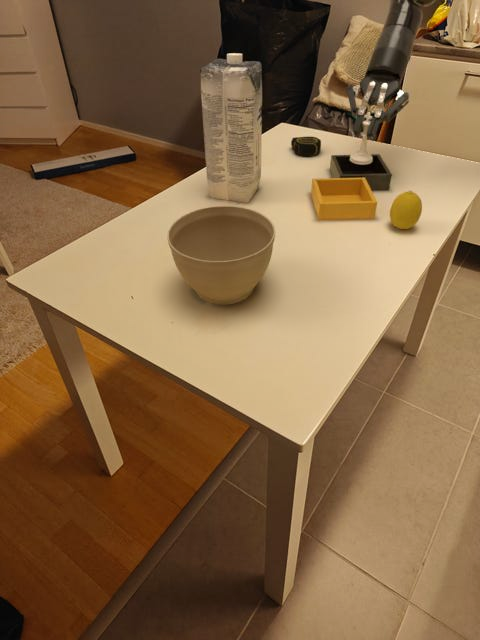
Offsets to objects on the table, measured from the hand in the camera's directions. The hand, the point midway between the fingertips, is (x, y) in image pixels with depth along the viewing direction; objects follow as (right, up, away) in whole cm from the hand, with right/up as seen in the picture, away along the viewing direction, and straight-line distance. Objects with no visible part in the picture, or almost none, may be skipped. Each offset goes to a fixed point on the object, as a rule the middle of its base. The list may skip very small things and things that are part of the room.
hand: (362, 136), depth 96 cm
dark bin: (+1, -7, +9) cm, 11 cm away
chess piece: (+1, -3, +5) cm, 6 cm away
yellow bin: (-5, -15, 0) cm, 16 cm away
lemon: (+5, -21, -7) cm, 23 cm away
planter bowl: (-28, -33, -20) cm, 48 cm away
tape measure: (-9, +4, +21) cm, 24 cm away
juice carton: (-27, -11, +5) cm, 29 cm away
